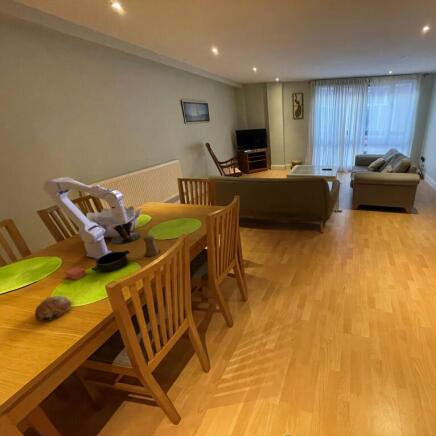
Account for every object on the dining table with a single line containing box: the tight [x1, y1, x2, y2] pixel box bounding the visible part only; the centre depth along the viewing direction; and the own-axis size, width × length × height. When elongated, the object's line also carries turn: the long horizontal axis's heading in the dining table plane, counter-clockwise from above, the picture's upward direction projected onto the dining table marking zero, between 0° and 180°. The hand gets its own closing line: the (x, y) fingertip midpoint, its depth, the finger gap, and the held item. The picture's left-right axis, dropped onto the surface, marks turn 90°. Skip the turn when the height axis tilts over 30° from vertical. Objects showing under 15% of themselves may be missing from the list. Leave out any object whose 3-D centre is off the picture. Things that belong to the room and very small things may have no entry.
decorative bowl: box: [86, 205, 142, 238], centre depth 154 cm, size 30×30×15 cm
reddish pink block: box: [65, 266, 87, 281], centre depth 114 cm, size 6×4×3 cm
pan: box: [91, 250, 130, 273], centre depth 122 cm, size 12×18×4 cm
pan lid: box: [110, 231, 142, 245], centre depth 131 cm, size 14×14×5 cm
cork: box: [143, 234, 160, 257], centre depth 132 cm, size 6×6×11 cm
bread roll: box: [34, 295, 72, 322], centre depth 92 cm, size 10×10×8 cm
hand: (125, 236), depth 131 cm, fingers closed on pan lid, 2 cm apart
